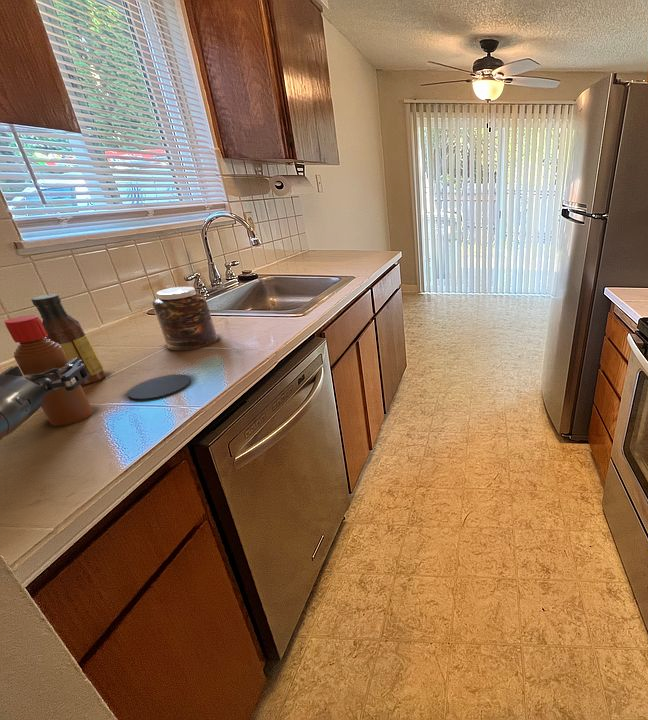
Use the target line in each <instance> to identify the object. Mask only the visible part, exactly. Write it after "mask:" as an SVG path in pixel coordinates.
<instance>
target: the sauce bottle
mask: <svg viewBox="0 0 648 720" xmlns="http://www.w3.org/2000/svg"><path fill="white" fill-rule="evenodd" d="M30 300H31V302H32V304H33V306H35V308H36V309H37V311H38V312H39V315H40V318H41V320H42V321H41V322H42V324H43V326H44V328H45V330H46V332H47V335H48V336H46V337H45V338H46V339H50V341H54V342H55V343H58V344H59V345H61V346H62V348H63V350H64V352H65V354H66V357H67V359H68V361H70V360H72V359H73V358H79V359H80V360H82V361H83V364H84V365H85V368H86V370H87V372H88V374H89V375H90V377H88V378H87V379H86V380H85V381H84V382H82V383H81V384H80V385H81V386H84V385H85V386H86V385H89V384H93V383H96V382H98V381H101V380H102V379H104V378H105V377H106V372H105V370H104V367H103V364H102V362H101V360H100V359H99V357H98V355H97V353H96V351H95V348H94V346H93V345H92V343H91V341H90V339H89V338H88V336H87V334H86V333H85V331H84V329H83V327H82V325H81V323H80V322H79V321H78V320H76V319H75V318H74V317H73V316H72V315H70V314H68V313H67V311H66V310H65V308H64V306H63V304H62V299H61V297H60V296H59V295H58V294H57V293H51V294H42V295H37V296H34V297H32V298H31V299H30Z"/></svg>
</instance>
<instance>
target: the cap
mask: <svg viewBox="0 0 648 720" xmlns="http://www.w3.org/2000/svg"><path fill="white" fill-rule="evenodd" d="M40 318H41V317H39V315H37V314H31V315H30V314H29V315H21V316H16V317H12V318H9V319H6V320H4V321H3V323H4V324H5V327H6V329H7V330H8V333H9V334H10V336H11V339H12V340H13V341H14V343H21V342H30V341H35V340H39V339H42V338H45V337H46V336H48V335H47V332H46V330H45V328H44V326H43V324H42V322H43V321H42V319H40Z"/></svg>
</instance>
